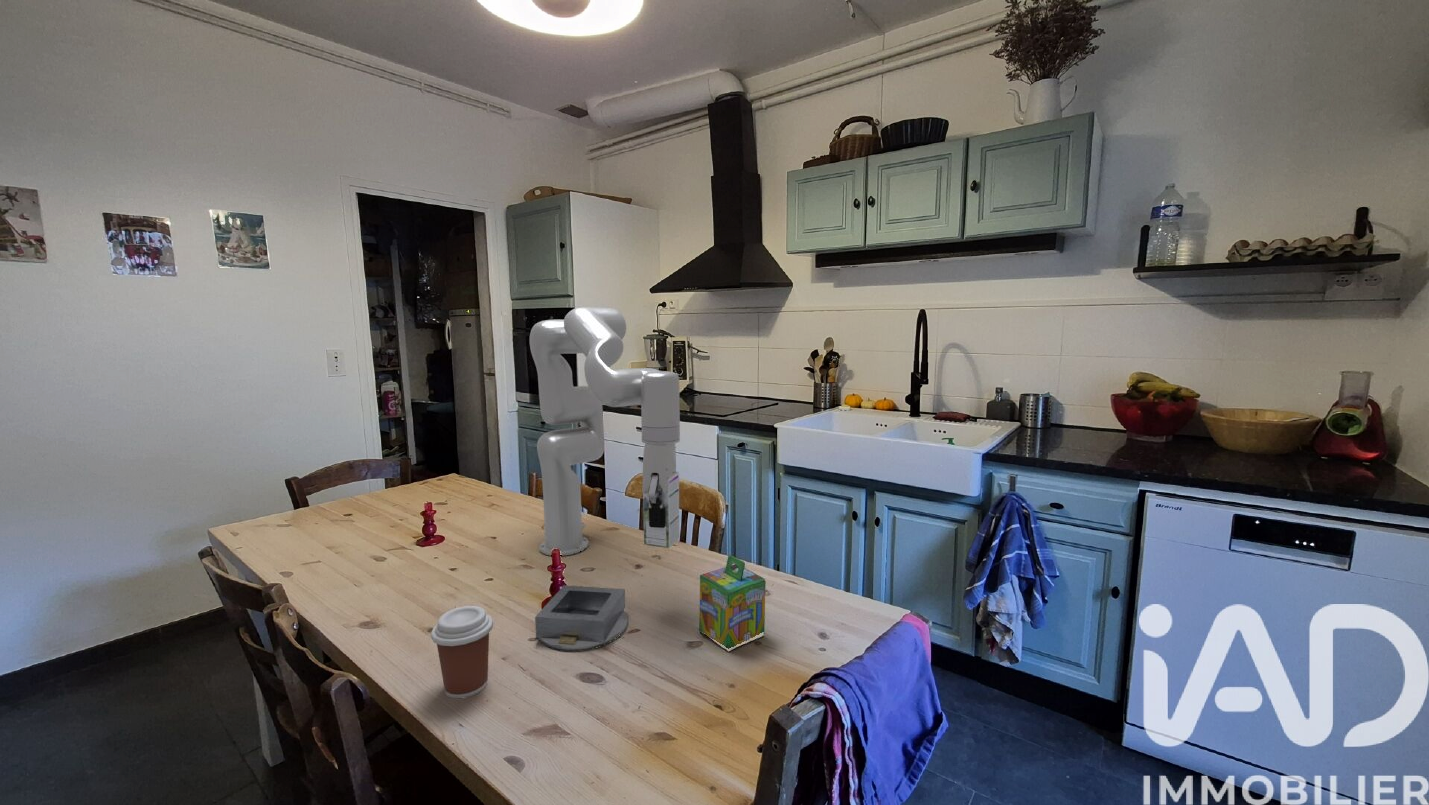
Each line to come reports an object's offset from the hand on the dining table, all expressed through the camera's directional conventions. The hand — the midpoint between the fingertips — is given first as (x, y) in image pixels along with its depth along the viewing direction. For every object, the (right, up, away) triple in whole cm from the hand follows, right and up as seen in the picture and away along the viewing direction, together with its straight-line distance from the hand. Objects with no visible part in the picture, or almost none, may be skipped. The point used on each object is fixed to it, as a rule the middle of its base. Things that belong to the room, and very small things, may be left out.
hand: (661, 520), depth 114 cm
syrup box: (0, -5, +1) cm, 5 cm away
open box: (-15, -20, -5) cm, 25 cm away
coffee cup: (-29, -22, -23) cm, 43 cm away
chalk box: (+14, -20, -8) cm, 26 cm away
